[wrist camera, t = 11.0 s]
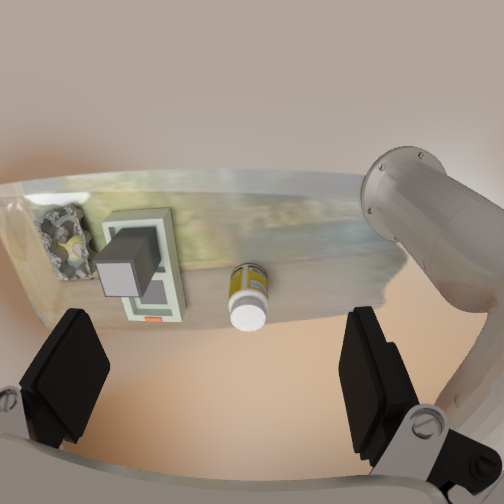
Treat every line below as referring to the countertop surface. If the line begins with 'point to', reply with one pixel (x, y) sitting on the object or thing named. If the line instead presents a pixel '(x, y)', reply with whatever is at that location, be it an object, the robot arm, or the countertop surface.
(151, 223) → the power strip
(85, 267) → the egg carton
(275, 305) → the countertop surface
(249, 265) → the supplement bottle
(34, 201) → the countertop surface
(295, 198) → the countertop surface
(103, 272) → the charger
